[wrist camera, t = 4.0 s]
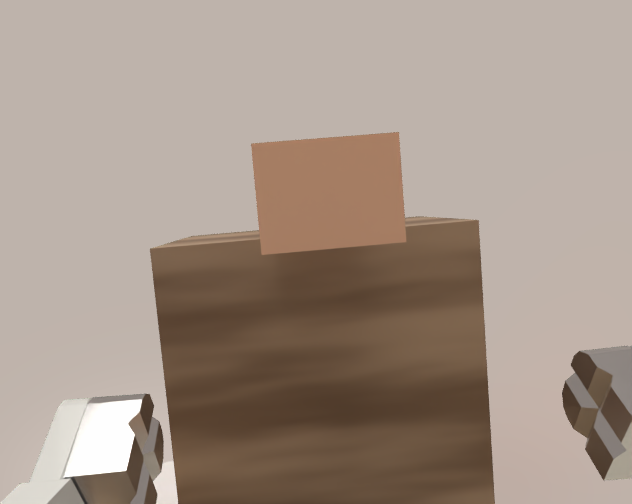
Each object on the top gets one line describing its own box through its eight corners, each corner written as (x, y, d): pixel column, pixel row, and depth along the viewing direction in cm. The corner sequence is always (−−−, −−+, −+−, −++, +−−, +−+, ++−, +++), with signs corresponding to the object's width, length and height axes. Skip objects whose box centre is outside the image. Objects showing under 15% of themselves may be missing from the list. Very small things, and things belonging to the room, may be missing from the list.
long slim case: (406, 242, 15) (398, 132, 14) (261, 254, 14) (251, 143, 14) (336, 222, 35) (332, 176, 34) (274, 227, 34) (270, 181, 34)
